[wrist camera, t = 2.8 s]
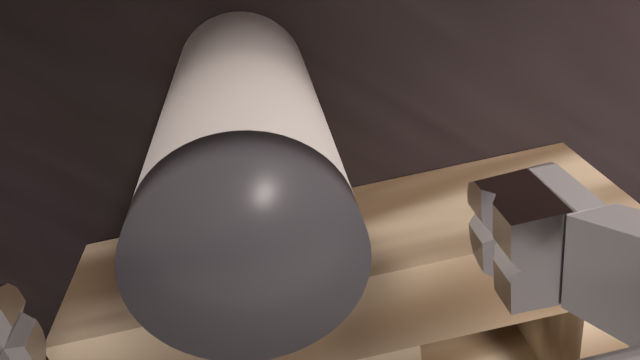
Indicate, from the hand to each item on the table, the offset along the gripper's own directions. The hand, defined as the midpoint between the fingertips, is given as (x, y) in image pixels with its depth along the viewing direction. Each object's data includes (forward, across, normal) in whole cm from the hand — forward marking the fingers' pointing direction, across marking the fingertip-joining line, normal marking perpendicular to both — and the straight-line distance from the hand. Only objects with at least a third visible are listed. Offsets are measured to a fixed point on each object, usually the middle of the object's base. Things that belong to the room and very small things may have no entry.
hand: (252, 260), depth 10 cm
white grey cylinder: (+9, 0, -1) cm, 9 cm away
